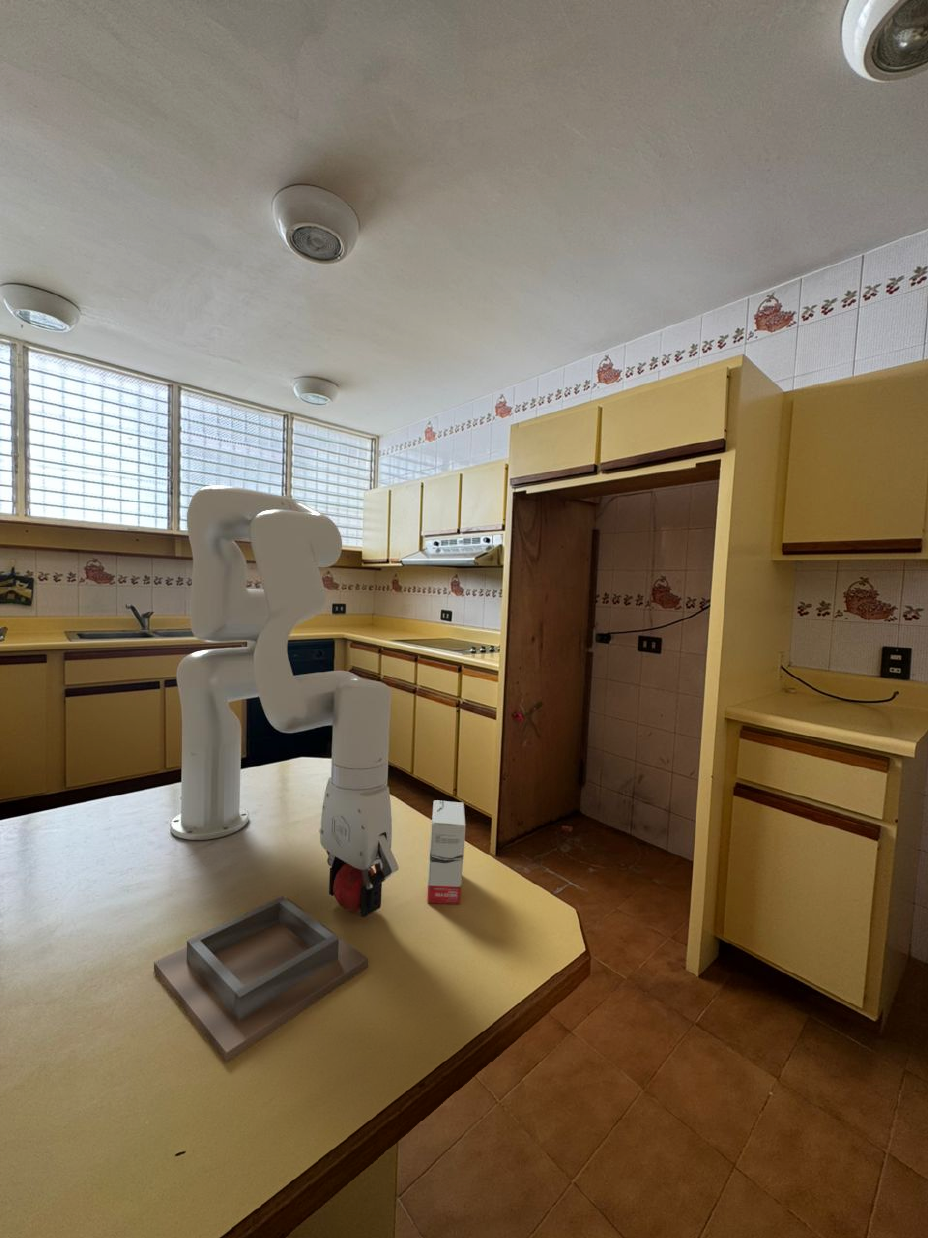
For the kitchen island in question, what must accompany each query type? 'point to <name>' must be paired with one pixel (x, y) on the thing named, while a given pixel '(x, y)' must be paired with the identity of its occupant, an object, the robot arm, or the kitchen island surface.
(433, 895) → the ink box
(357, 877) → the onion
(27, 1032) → the kitchen island surface
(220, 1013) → the dock
